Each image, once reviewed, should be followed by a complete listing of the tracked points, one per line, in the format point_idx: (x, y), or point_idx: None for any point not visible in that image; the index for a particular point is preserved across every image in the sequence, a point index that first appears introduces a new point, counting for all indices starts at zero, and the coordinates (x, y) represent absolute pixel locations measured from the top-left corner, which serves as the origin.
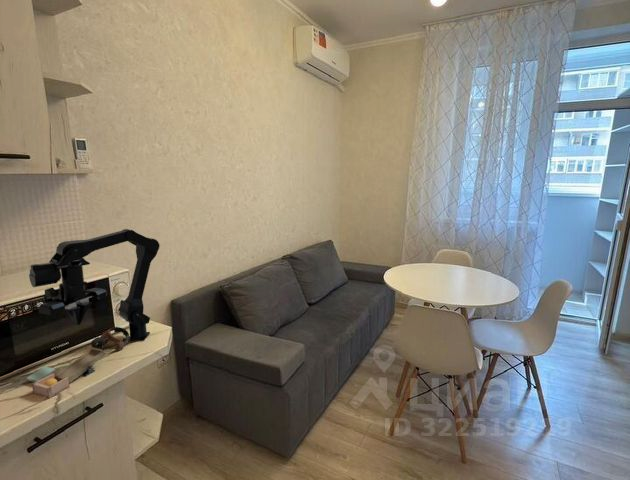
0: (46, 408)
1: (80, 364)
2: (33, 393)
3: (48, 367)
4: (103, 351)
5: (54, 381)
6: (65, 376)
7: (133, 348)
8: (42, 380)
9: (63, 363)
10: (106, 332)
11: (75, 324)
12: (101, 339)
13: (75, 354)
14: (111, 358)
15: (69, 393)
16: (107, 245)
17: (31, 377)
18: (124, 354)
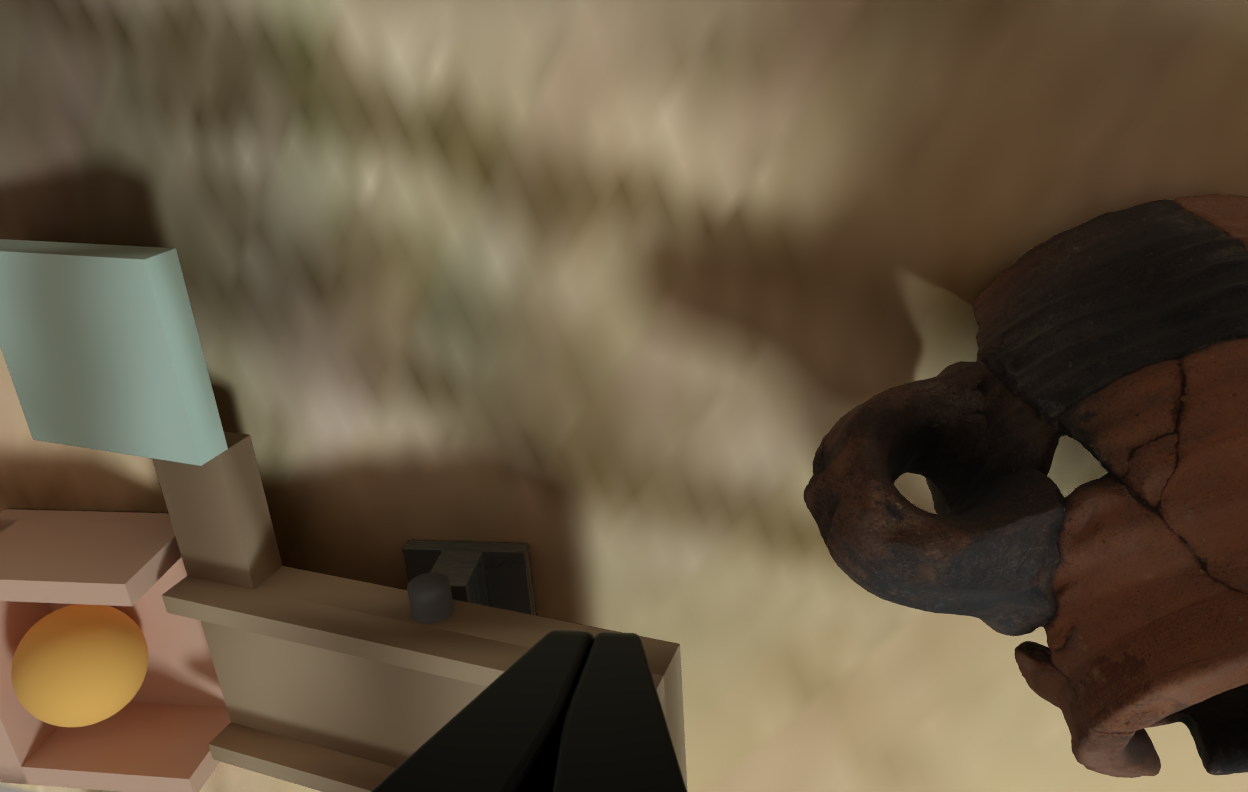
0: (23, 785)
1: (411, 694)
2: (3, 513)
3: (166, 354)
4: None
5: (85, 725)
6: (239, 662)
7: (1182, 725)
8: (14, 593)
9: (480, 178)
10: (1205, 577)
11: (548, 637)
12: (957, 611)
13: (748, 60)
14: (842, 664)
15: (209, 785)
16: None
17: (2, 302)
18: (987, 732)
